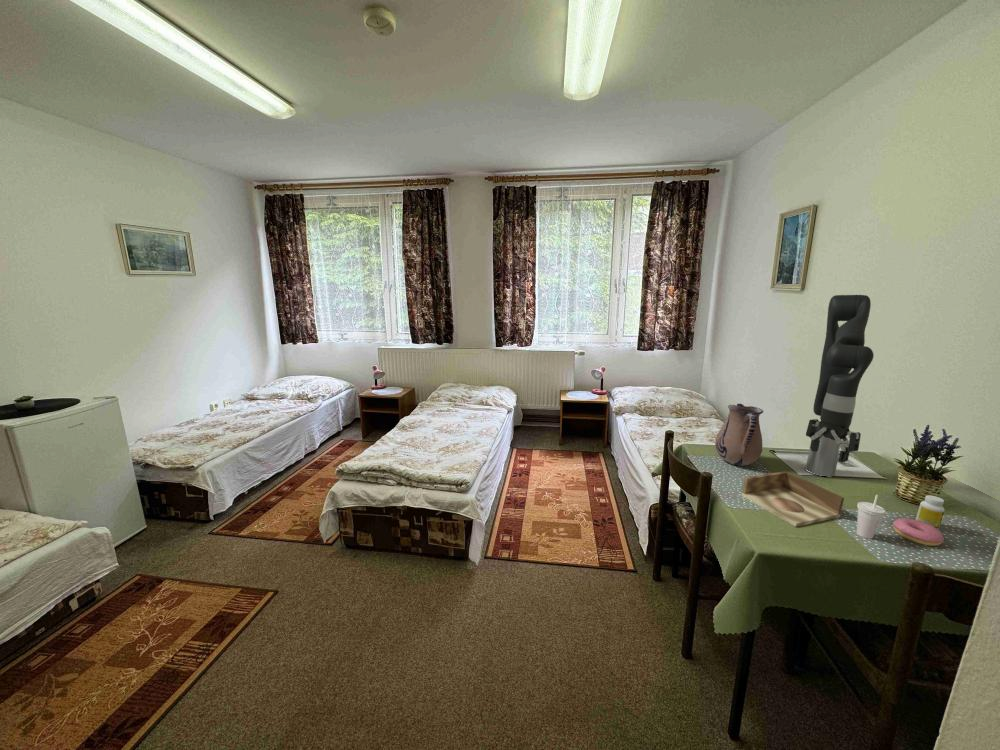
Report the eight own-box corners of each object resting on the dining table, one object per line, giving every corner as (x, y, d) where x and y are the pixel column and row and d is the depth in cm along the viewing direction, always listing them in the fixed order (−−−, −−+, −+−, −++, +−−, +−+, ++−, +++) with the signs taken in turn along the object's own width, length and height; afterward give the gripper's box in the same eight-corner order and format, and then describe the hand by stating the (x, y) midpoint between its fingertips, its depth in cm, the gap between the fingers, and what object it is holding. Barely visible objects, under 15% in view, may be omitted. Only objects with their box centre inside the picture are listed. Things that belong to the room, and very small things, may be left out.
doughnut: (944, 553, 114) (948, 541, 113) (891, 537, 122) (894, 525, 121) (939, 536, 122) (943, 525, 121) (890, 522, 129) (893, 511, 128)
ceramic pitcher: (746, 454, 181) (755, 402, 175) (772, 475, 160) (783, 417, 155) (706, 452, 182) (713, 400, 177) (727, 473, 162) (736, 415, 156)
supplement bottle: (942, 532, 124) (950, 504, 122) (918, 526, 127) (926, 499, 125) (935, 524, 129) (943, 497, 126) (912, 518, 131) (919, 492, 129)
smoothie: (872, 543, 118) (883, 501, 115) (846, 532, 123) (856, 491, 120) (882, 537, 121) (893, 496, 118) (856, 526, 126) (866, 487, 123)
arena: (782, 488, 150) (785, 471, 148) (839, 517, 131) (844, 497, 130) (741, 495, 144) (744, 477, 143) (795, 526, 126) (799, 506, 124)
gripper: (872, 414, 117) (860, 464, 121) (823, 401, 131) (814, 446, 134) (854, 416, 115) (842, 466, 119) (806, 402, 129) (797, 448, 132)
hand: (827, 456), depth 127 cm, fingers open, 8 cm apart
